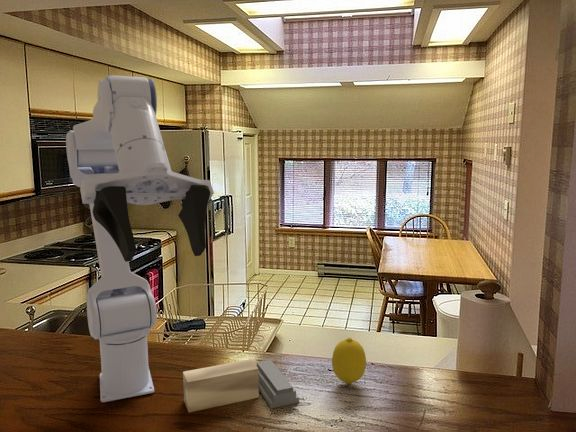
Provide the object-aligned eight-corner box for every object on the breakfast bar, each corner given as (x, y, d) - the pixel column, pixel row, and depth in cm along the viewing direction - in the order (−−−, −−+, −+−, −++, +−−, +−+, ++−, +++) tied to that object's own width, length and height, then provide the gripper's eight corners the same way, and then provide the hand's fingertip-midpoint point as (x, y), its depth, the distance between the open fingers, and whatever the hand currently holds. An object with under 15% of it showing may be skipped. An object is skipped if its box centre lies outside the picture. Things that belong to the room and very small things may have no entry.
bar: (184, 401, 74) (183, 371, 74) (251, 387, 79) (251, 359, 78) (188, 413, 71) (187, 382, 70) (258, 398, 75) (258, 368, 75)
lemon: (324, 382, 80) (325, 336, 79) (349, 372, 83) (349, 328, 82) (348, 396, 75) (348, 348, 74) (372, 385, 79) (373, 339, 77)
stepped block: (251, 378, 81) (251, 363, 81) (276, 373, 83) (276, 358, 83) (271, 408, 72) (271, 391, 72) (299, 402, 74) (299, 386, 73)
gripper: (81, 127, 50) (102, 237, 44) (209, 136, 58) (241, 230, 52) (71, 169, 55) (89, 274, 49) (190, 172, 63) (218, 262, 57)
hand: (167, 254), depth 51 cm, fingers open, 7 cm apart
